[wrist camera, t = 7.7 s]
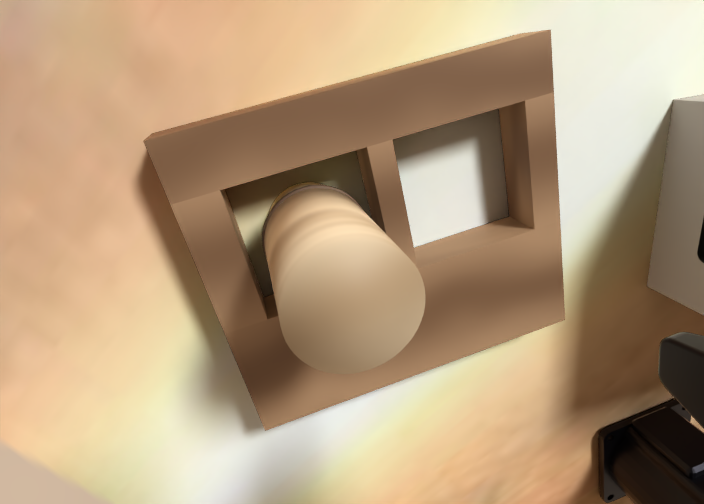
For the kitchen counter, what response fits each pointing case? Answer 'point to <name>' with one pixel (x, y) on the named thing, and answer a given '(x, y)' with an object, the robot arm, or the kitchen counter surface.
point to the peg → (339, 281)
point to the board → (381, 212)
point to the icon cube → (681, 210)
